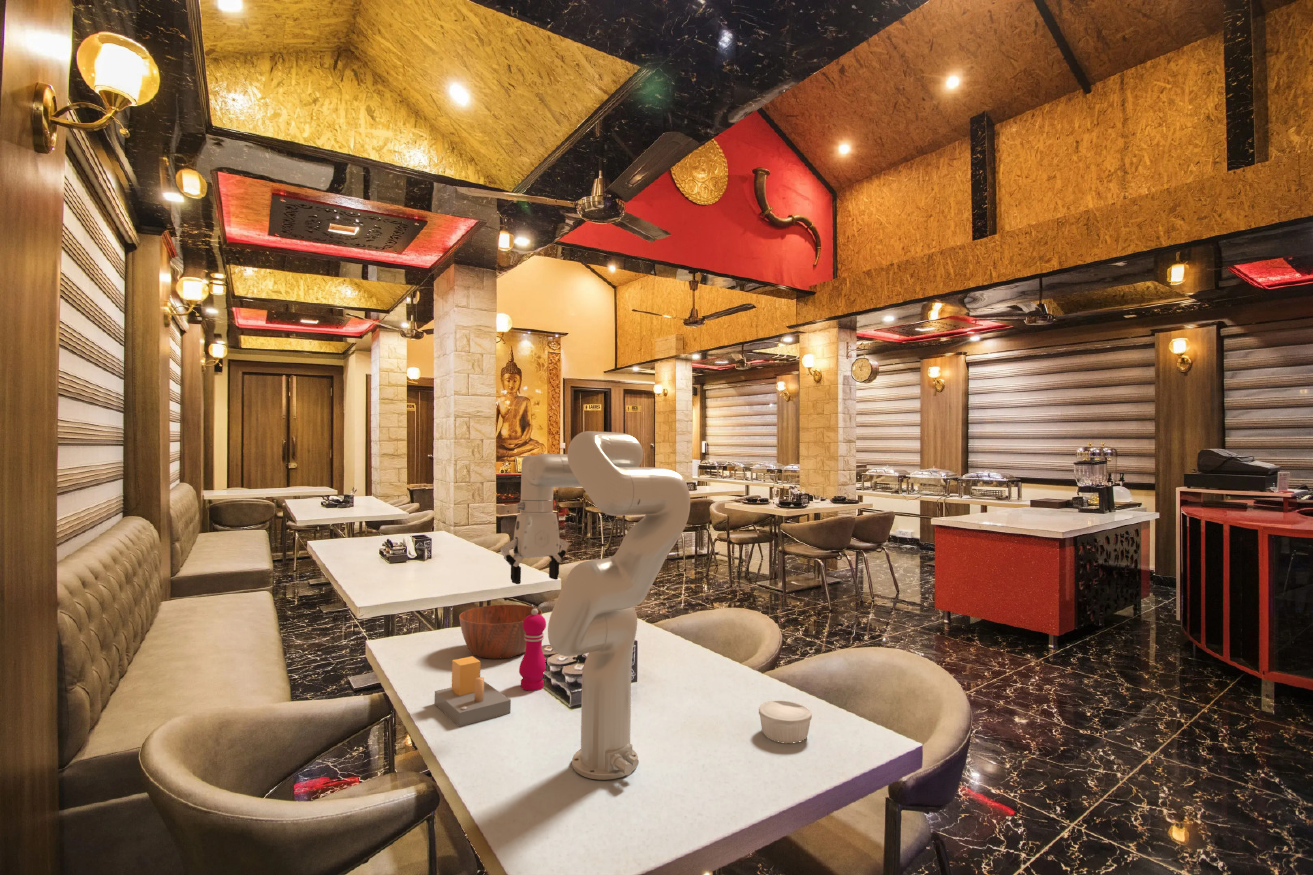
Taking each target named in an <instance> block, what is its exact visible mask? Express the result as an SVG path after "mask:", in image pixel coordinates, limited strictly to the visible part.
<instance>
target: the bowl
mask: <svg viewBox="0 0 1313 875" xmlns="http://www.w3.org/2000/svg"><path fill="white" fill-rule="evenodd" d="M534 608H535V609H537V610H538V614H539V615H541V616H543V611H542V609H540V608H538V607H536V606H532V605H525V604H493V605H483V606H479V607H475V608H470V609H467V610H465V611H463V612H461V613H460V614H459V616H458V617H459V624H460V629H461V633H462V636H463V639H464V642H465V645H466V647H467V649H468V650H469V651H470V652H471V653H472V654H473V655H475V656H476V657H479V658H484V659H492V660H493V659H494V660H497V659H508V658H512V657H513V656H514V657H517V656H519V655H522V654H525V651H526V640H525V639H524V638H525V636H524V634H525V633H526V632H525V631H524V630H523V621H524V619H525V618H526V617H527V616H529V615H532V613H531V611H532V609H534Z"/></svg>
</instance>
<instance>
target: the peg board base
mask: <svg viewBox="0 0 1313 875" xmlns="http://www.w3.org/2000/svg"><path fill="white" fill-rule="evenodd" d="M511 703H512V701H511V698H509V697H508V696H506V695H505V694H503V693H502V692H500V691H499V690H497V689H495V687H493V686H492V685H490V684H489V683H487V682H486V681H485V677H483V676H480V677H477V678H475V692H474V693H470V694H466V695H461V696H459V695H458V694H456V693H455V692H454V691H453V690H452V686H451V687H447V688H442V689H437V690H434V705H435V706H436V707H437V706H438V707H437V708H438V709H439V708H440V709H439V710H440V711H441V712H442V713H444V715H446V716H447V717H448V718H449V719H450V720H451V721H453V723H455V724H456V726H458V727H459V728H460V727H463V726H464V727H465V726H468V725H471V724H476V723H479V722H483V721H486V720H490V719H495V718H498V717H501V716H505V715H508V714H511V708H512V707H511Z"/></svg>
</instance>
